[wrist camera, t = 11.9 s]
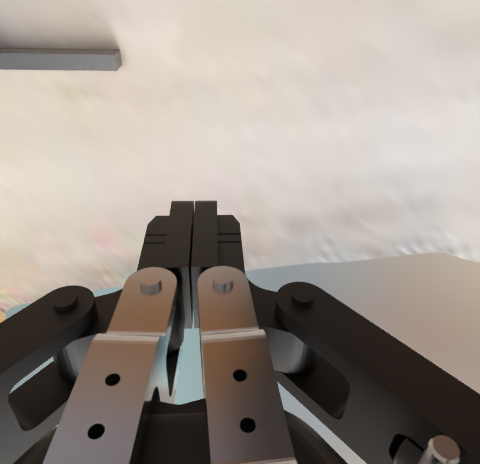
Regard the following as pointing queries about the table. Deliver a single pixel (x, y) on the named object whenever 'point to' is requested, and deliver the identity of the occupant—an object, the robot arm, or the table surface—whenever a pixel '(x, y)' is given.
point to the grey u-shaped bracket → (59, 59)
